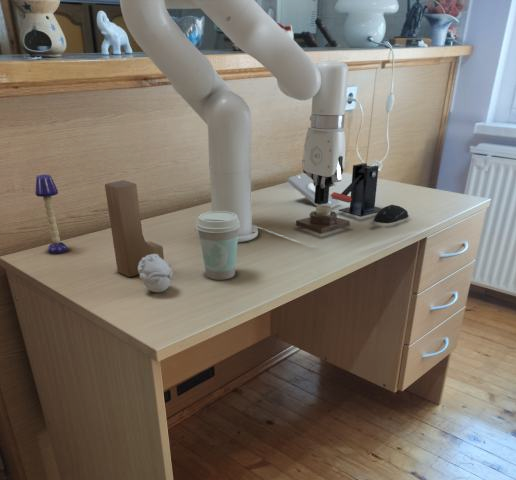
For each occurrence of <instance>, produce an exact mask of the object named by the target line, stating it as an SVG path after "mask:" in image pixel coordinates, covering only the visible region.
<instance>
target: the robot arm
mask: <svg viewBox="0 0 516 480" xmlns="http://www.w3.org/2000/svg"><path fill="white" fill-rule="evenodd" d="M119 5H120V6H119V7H120V9H121V10H120V11H121V15H122V18H123V21H124V23H125V26H126V28H127V30H128V32H129V34H130V35H131V37H132V39H133V40H134V41H135V43H136V44H137V45H138V47H139V48H140V49H141V51H143V52H144V54H145V55H146V56H147V57H148V58H149V60H150V61H151V62H152V64H154V66H155V67H156V68H157V69H158V70H159V71H160V72H161V74H162V75H163V76H164V77H165V78H166V79H167V81H168V82H169V83H170V84H171V86H172V88H173V89H174V91H175V92H176V93H177V94H178V95H179V96H181V98H182V99H183V100H184V102H186V103H187V105H189V107H190V108H191V109H192V110H193V111H194V112H195V113H196V114H197V115H198V116H199V117H200V118H201V120H202V121H203V122H204V123H205V124H206V125H207V135H208V136H207V138H208V139H207V141H208V143H207V144H208V167H209V183H210V203H211V212H213V211H226V212H232V213H235V214H236V215H237V217H238V220H239V222H240V227H239V230H238V243H243V242H249V241H251V240H253V239H255V238H257V237H258V235H259V229H258V228H257V227H256V226H254V225H253V220H252V219H253V218H252V217H253V216H252V167H251V165H252V163H251V161H252V160H251V155H252V154H251V153H252V152H251V151H252V147H251V146H252V131H253V118H252V113H251V109H250V107H249V105H248V103H247V101H245V99H244V98H243V97H242V96H240V95H239V94H238V93H235V92H234V90H233V89H232V88H231V87H230V85H228V84H227V82H226V81H225V80H224V79H223V78H222V76H220V74H219V73H218V72H217V71H216V69H215V68H214V66H213V64H212V62H211V61H210V60H209V58H208V57H207V56H206V55H205V54H203V53H202V52H201V51H200V50H199V49H198V47H196V45H194V43H193V42H192V41H191V40H190V39H189V38H188V37H187V35H186V34H185V33H184V32H183V30H182V29H181V28H180V26H179V25H178V24H177V22H176V21H175V20H174V19H173V18H172V16H171V14H170V13H169V11H168V10H193V9H194V10H195V9H200V10H201V11H202V12H203V13H204V14H205V15H206V16H207V17H208V18H209V19H210V20H211V21H212V22H213V23H214V25H216V26H217V28H218V29H220V30H221V31H222V33H223V34H224V35H225V36H226V37H227V38H228V39H229V40H230V41H231V42H232V44H233V45H235V46H236V47H237V48H238V49H239V50H241V51H242V52H243V53H244V54H247V55H248V56H250V57H252V58H253V59H254V60H256V61H257V62H258V63H259V64H260V65H262V66H263V67H264V68H265V69H266V70H267V72H269V73H270V74H271V75H272V76H273V77H274V78H275V79H276V84H277V86H278V89H279V90H280V92H282V93H283V94H284V95H285V96H287V97H289V98H292V99H294V100H297V101H307V100H310V99H311V115H310V116H309V121H310V127H308V128H307V131H306V136H305V140H304V146H303V155H302V160H303V164H302V163H301V166H302V171H303V170H304V171H306V174H307V175H308V176H310V177H312V179H313V184H314V186H315V200H314V203H316V204H319V205H321V204H326V203H328V198H329V194H330V188H331V187H332V186H333V184H334V183H340V182H341V181H342V175H343V174H344V171H345V167H346V166H345V165H346V148H347V147H346V145H347V144H346V132H345V131H346V130H344V126H345V114H346V105H347V104H346V103H347V92H348V82H349V66H348V64H347V63H346V62H343V61H329V60H327V61H319V62H314V61H313V59H312V58H311V57H310V56H309V54H307V52H305V50H304V49H303V48H302V47H301V46H300V45H299V44H298V42H297V41H295V39H293V38H292V37H291V36H290V34H289V33H287V32H286V31H285V30H284V29H283V27H281V26H280V25H279V24H278V23H277V22H276V21H275V20H274V19H273V18H272V17H271V16H270V15H269V14H268V13H267V12H266V11H265V10H264V9H263V8H262V7H261V6H260V5H259V3H258V2H257V1H256V0H119ZM196 226H197V225H195V226H194V231H195V233H196V234H197V235H199V232H198V229H197V228H196Z"/></svg>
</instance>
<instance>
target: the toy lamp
mask: <svg viewBox="0 0 516 480" xmlns="http://www.w3.org/2000/svg"><path fill="white" fill-rule="evenodd" d="M34 190H35V192H34V193H35V196H36V197H39V198H42V199H43V202H44V209H45V214H46V215H47V222H48V228H49V230H50V235H51V241H52V242H51V243H50V244H49V246H48V249H47V252H48V253H49V254H53V255H55V254H62V253H65V252H67V251H68V249H69V248H68V246H67V245H66V244H65V243H64V242H62V241H61V237H60V232H59V229H58V224H57V218H56V216H55V215H56V214H55V213H56V212H55V210H54V204H53V197H54V196H57V195H58V194H59V190H58V188H57V186H56V183H55V182H54V179H53V177H52V175H50V174H37V175H36V177H35V189H34Z"/></svg>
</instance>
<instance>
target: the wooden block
mask: <svg viewBox="0 0 516 480" xmlns="http://www.w3.org/2000/svg"><path fill="white" fill-rule="evenodd" d="M104 191H105V196H106V202H107V210H108V216H109V223H110V229H111V237H112V244H113V249H114V256H115V264H116V270H117V272H118V273H120V274H122V275H124V276H126V277H128V278H131V277H135V276H138V275H140V274H139V272H138V265H139V262H140V260H142V258H143V257H145V256H147V255H151V254H158V255H159V257H160V258H162V259H163V260H164V261H165V255H164V247H163V245H161V244H158V243H155V242H153V241H146V240H145V237H144V234H143V227H142V218H141V212H140V203H139V197H138V194H139V193H138V187H137V183H135V182H132V181H128V180H123V179H122V180H118V181H112V182H108V183H105V184H104Z"/></svg>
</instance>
